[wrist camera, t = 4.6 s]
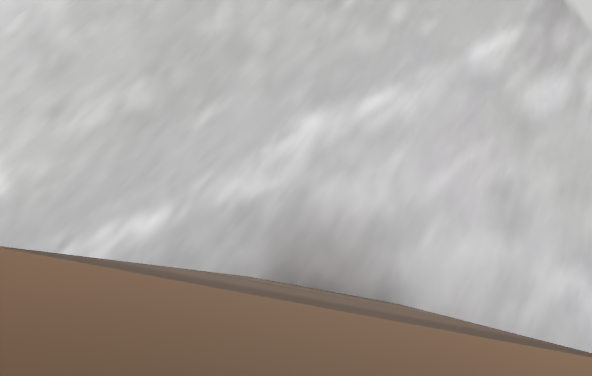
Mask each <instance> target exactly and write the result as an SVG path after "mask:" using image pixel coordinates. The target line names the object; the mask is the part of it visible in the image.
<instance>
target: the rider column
mask: <svg viewBox="0 0 592 376" xmlns="http://www.w3.org/2000/svg"><path fill="white" fill-rule="evenodd" d="M0 376H592V353H588V352H584V351H580V350H576V349H572V348H568V347H564V346H561V345H557V344H553V343H549V342H545V341H541V340H537V339H533V338H529V337H525V336H521V335H517V334H513V333H509V332H506V331H502V330H498V329H494V328H490V327H486V326H482V325H478V324H474V323H470V322H466V321H462V320H458V319H454V318H451V317H447V316H443V315H439V314H435V313H431V312H427V311H423V310H419V309H415V308H411V307H407V306H403V305H400V304H394V303H389V302H383V301H378V300H372V299H367V298H361V297H356V296H351V295H345V294H340V293H334V292H329V291H323V290H318V289H312V288H307V287H301V286H296V285H290V284H285V283H279V282H274V281H268V280H263V279H257V278H252V277H245V276H237V275H229V274H221V273H213V272H205V271H196V270H188V269H180V268H172V267H164V266H156V265H147V264H139V263H131V262H123V261H115V260H107V259H98V258H90V257H82V256H74V255H66V254H58V253H49V252H41V251H33V250H25V249H17V248H8V247H0Z"/></svg>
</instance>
